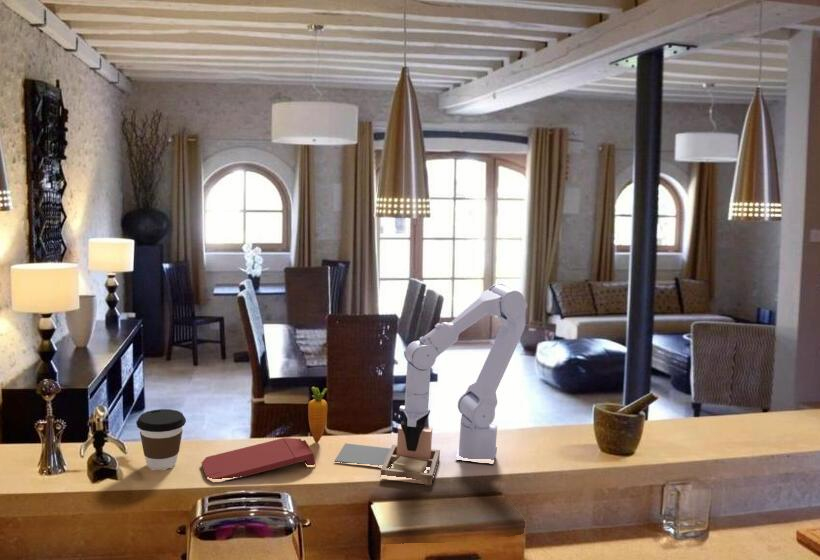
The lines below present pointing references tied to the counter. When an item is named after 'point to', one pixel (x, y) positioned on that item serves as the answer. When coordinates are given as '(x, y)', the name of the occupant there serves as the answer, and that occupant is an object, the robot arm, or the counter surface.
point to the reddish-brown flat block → (258, 458)
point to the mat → (362, 454)
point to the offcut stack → (409, 464)
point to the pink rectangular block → (422, 448)
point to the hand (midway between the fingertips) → (414, 444)
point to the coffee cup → (161, 437)
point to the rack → (424, 477)
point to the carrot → (317, 414)
